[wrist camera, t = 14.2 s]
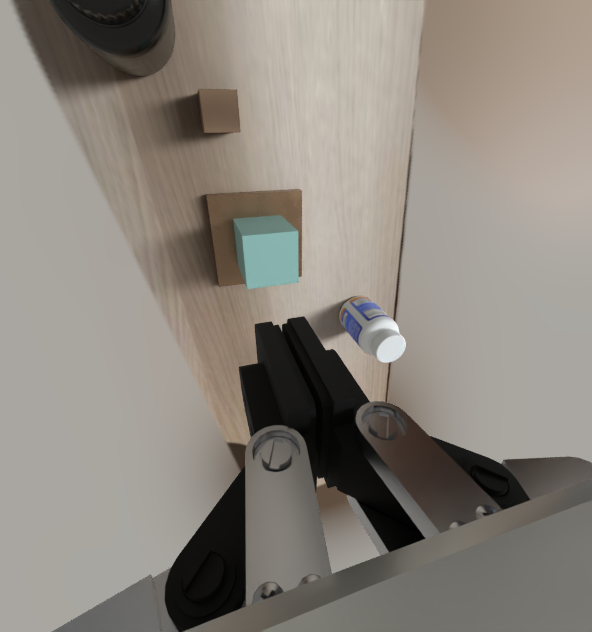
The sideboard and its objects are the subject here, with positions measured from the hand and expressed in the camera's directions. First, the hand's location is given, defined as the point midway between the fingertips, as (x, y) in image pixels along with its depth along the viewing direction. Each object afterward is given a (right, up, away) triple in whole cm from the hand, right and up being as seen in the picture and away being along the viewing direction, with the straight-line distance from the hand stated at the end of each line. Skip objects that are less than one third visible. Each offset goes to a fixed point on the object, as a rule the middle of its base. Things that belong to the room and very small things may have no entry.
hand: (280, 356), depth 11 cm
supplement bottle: (-13, +25, +14) cm, 31 cm away
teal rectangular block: (-4, +10, +25) cm, 27 cm away
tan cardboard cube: (-7, +20, +19) cm, 28 cm away
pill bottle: (+9, +2, +35) cm, 36 cm away
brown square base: (-4, +10, +25) cm, 28 cm away
